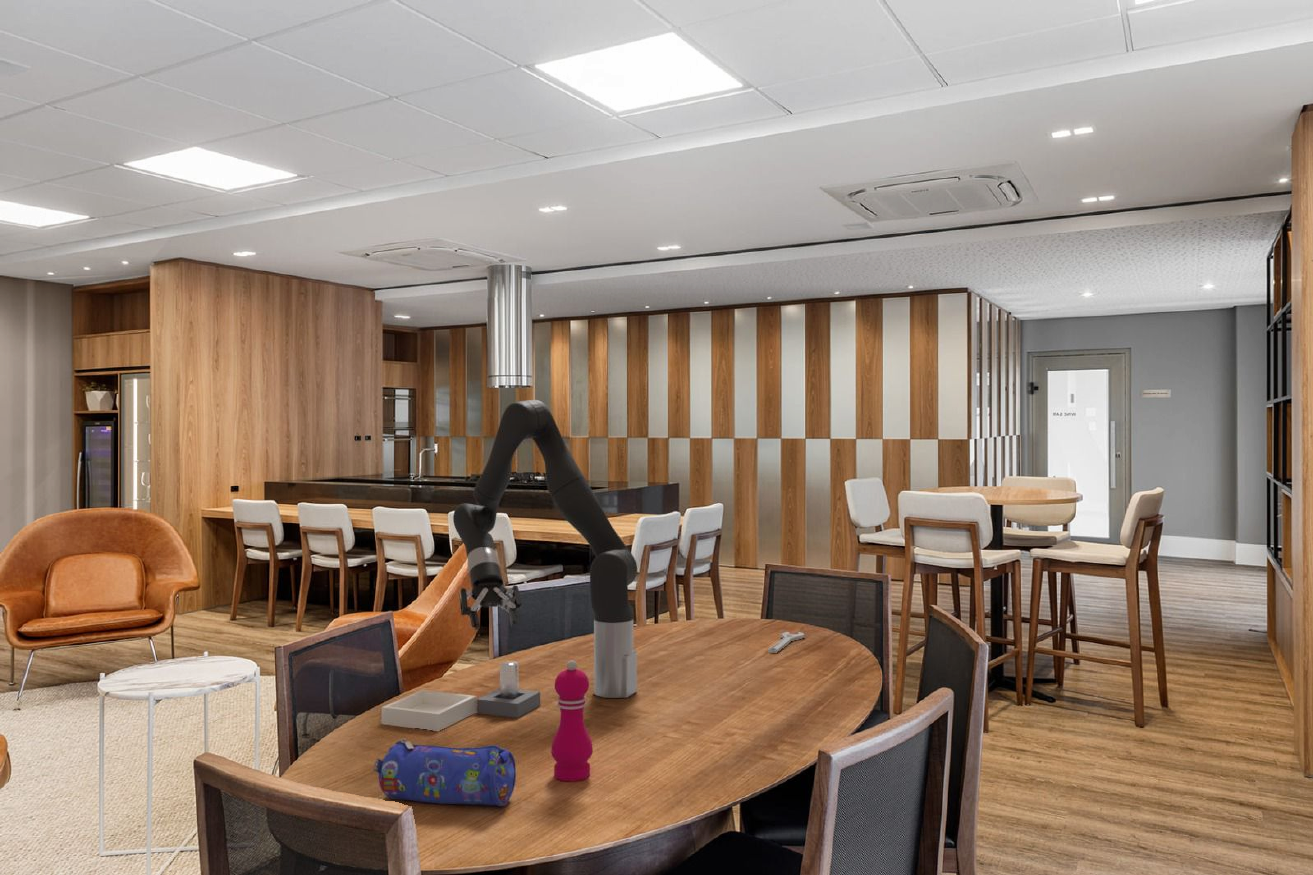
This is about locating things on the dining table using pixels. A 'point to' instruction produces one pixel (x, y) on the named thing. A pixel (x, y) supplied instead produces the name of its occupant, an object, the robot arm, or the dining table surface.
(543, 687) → the dining table surface
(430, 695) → the tray
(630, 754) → the dining table surface
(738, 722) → the dining table surface
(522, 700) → the socket block
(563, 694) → the pepper mill
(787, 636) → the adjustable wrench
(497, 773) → the pencil case
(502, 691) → the pin
